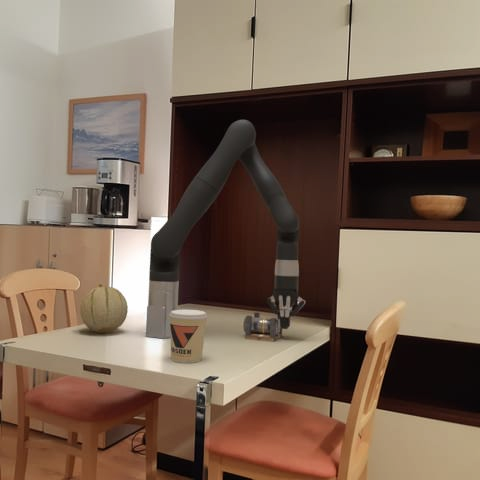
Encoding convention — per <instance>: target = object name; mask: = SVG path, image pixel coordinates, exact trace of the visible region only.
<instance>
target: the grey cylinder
mask: <svg viewBox="0 0 480 480" xmlns="http://www.w3.org/2000/svg"><path fill="white" fill-rule="evenodd" d="M271 318H272V317H270V318H268V317H259V318H257V317H254V316H252V325H251V333H261V334H270V320H271ZM242 327H243V328H242V329H243V332H244V333H245V331H246V316H245V317H244V319H243V326H242ZM279 333H280V319H277V318H276V335H279Z"/></svg>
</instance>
